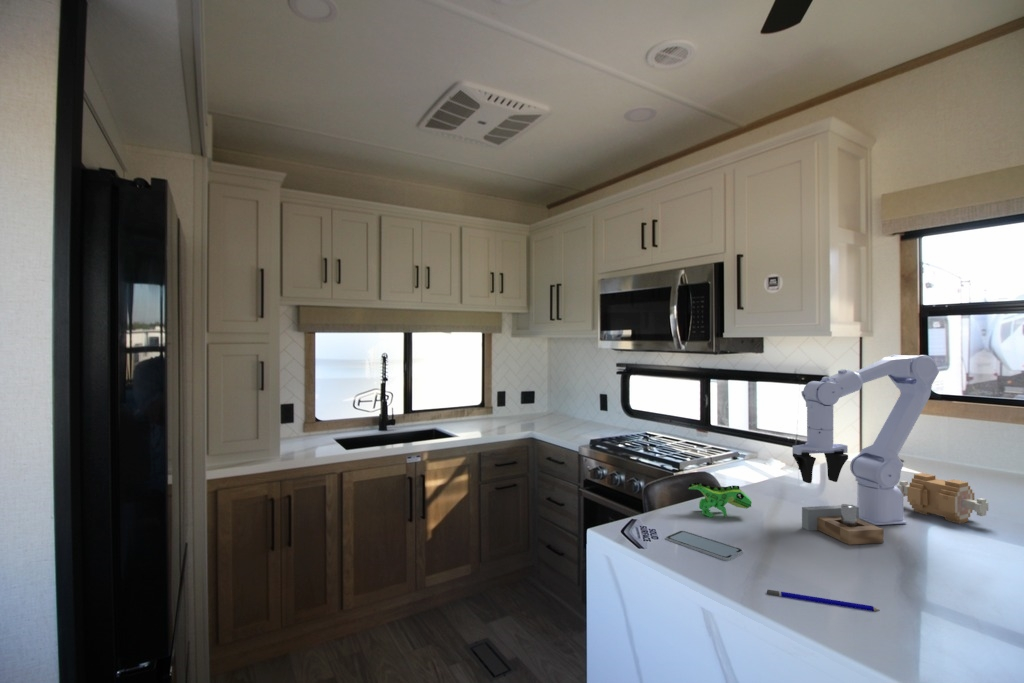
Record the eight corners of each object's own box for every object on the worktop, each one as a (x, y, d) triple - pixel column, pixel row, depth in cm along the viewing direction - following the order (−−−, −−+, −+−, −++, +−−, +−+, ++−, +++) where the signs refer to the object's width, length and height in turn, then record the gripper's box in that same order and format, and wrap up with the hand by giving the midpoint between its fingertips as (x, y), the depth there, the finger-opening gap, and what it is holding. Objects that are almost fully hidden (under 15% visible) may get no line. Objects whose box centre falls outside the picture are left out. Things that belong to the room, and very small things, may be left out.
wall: (852, 524, 122) (852, 504, 122) (858, 527, 120) (858, 507, 120) (801, 527, 119) (802, 507, 119) (808, 530, 117) (808, 509, 117)
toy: (742, 531, 124) (757, 495, 124) (683, 506, 127) (697, 470, 127) (737, 523, 130) (751, 488, 130) (680, 499, 133) (693, 465, 133)
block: (850, 527, 119) (850, 515, 119) (883, 542, 110) (883, 529, 110) (817, 529, 118) (817, 517, 118) (848, 544, 109) (848, 531, 109)
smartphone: (681, 530, 116) (744, 549, 105) (681, 533, 116) (744, 553, 105) (664, 537, 112) (727, 559, 100) (664, 541, 112) (727, 563, 100)
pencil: (767, 596, 87) (767, 590, 87) (766, 593, 88) (766, 588, 88) (881, 614, 81) (881, 608, 81) (878, 611, 82) (878, 605, 82)
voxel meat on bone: (912, 503, 139) (912, 468, 139) (994, 525, 122) (994, 485, 122) (890, 508, 135) (890, 471, 135) (973, 530, 118) (973, 489, 118)
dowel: (848, 533, 116) (848, 503, 116) (859, 537, 113) (860, 507, 113) (838, 534, 115) (838, 504, 115) (849, 539, 112) (849, 508, 112)
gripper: (831, 425, 130) (831, 476, 130) (783, 426, 127) (783, 478, 127) (854, 429, 123) (854, 483, 123) (804, 431, 120) (804, 486, 120)
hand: (820, 481), depth 125 cm, fingers open, 7 cm apart
